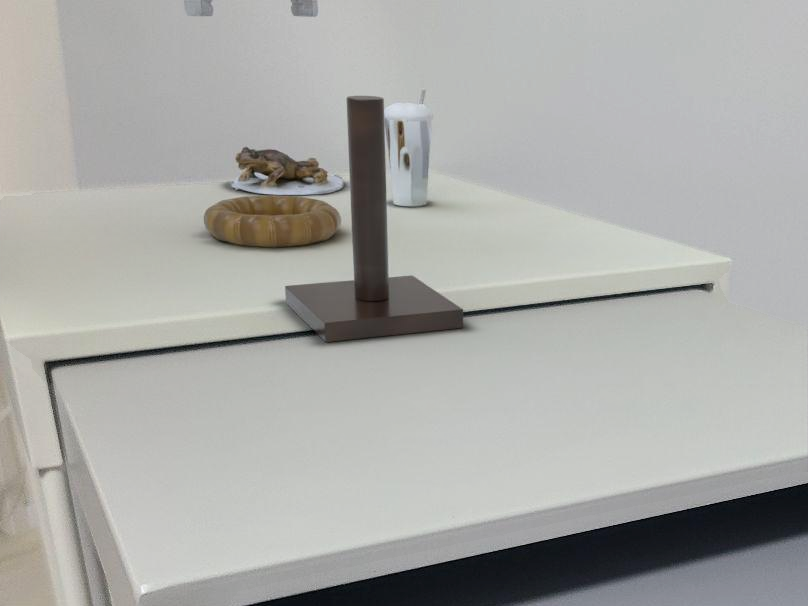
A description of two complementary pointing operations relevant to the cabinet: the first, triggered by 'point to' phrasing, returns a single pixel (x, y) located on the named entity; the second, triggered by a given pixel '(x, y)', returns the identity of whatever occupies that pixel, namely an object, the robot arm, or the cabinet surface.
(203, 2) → the robot arm
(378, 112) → the post
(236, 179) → the frog figurine
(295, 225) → the ring
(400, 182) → the milkshake
